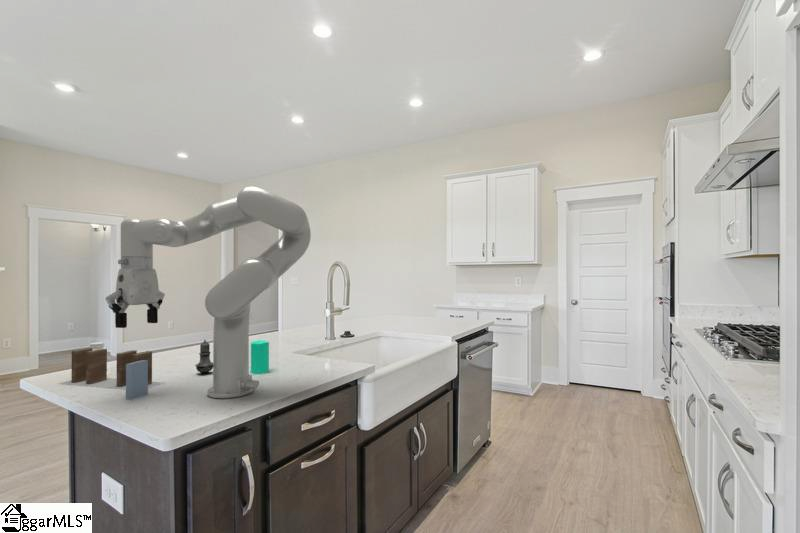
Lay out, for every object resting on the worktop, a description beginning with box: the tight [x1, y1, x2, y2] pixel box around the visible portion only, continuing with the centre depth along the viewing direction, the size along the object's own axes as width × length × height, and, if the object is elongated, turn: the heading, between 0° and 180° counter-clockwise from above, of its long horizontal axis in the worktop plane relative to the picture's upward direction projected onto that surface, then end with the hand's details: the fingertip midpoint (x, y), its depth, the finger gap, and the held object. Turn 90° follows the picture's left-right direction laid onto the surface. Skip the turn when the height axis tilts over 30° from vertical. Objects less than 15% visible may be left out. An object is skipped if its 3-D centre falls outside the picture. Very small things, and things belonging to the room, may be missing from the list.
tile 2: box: [116, 349, 138, 387], centre depth 123 cm, size 2×5×10 cm, turn 166°
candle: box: [250, 339, 270, 375], centre depth 140 cm, size 6×6×12 cm
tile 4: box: [86, 348, 108, 384], centre depth 127 cm, size 2×5×10 cm, turn 165°
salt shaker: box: [195, 339, 213, 377], centre depth 136 cm, size 6×6×12 cm
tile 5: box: [70, 347, 93, 383], centre depth 128 cm, size 2×5×10 cm, turn 166°
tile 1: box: [132, 350, 153, 385], centre depth 122 cm, size 2×5×10 cm, turn 165°
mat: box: [57, 377, 164, 391], centre depth 125 cm, size 32×9×1 cm, turn 75°
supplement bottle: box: [89, 341, 107, 350], centre depth 141 cm, size 6×6×10 cm
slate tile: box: [125, 360, 149, 401], centre depth 111 cm, size 2×5×10 cm, turn 165°
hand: (137, 325), depth 112 cm, fingers open, 9 cm apart
